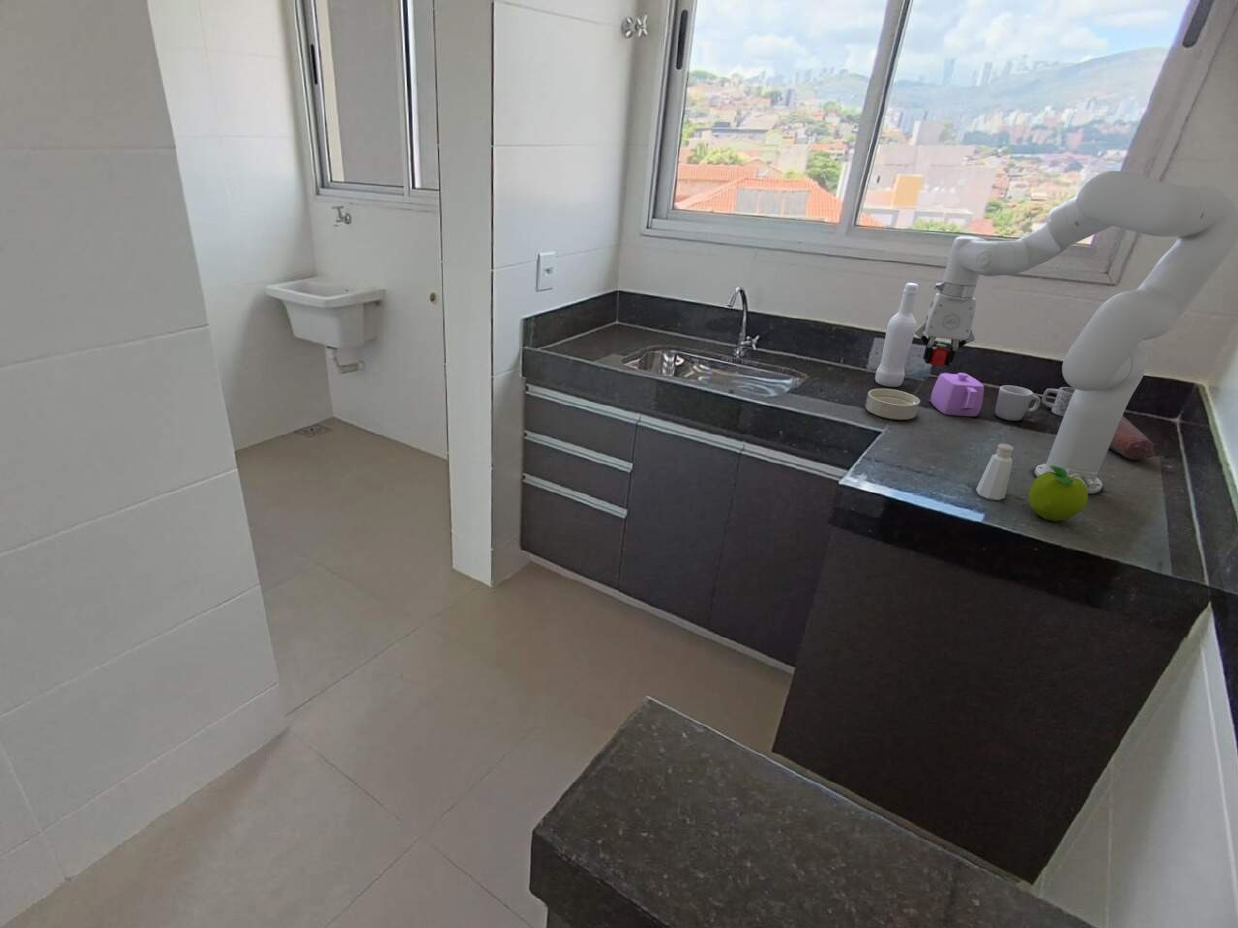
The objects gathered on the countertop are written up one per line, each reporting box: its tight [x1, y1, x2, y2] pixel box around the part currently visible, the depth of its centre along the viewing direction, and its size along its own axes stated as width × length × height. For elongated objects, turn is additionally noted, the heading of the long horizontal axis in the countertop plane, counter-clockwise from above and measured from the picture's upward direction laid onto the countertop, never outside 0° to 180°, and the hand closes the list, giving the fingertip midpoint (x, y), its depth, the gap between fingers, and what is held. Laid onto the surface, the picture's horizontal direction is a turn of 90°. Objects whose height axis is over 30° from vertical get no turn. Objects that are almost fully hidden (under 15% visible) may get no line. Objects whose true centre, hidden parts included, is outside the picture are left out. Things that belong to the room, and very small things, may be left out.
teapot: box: [930, 372, 985, 417], centre depth 181 cm, size 18×10×10 cm, turn 178°
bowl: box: [864, 388, 921, 421], centre depth 176 cm, size 13×13×4 cm
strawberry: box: [928, 343, 948, 367], centre depth 166 cm, size 4×4×5 cm
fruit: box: [1028, 466, 1089, 522], centre depth 126 cm, size 9×9×10 cm
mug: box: [1041, 386, 1075, 418], centre depth 184 cm, size 10×7×7 cm, turn 42°
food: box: [1109, 415, 1156, 461], centre depth 162 cm, size 21×9×9 cm, turn 1°
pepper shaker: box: [975, 443, 1015, 501], centre depth 134 cm, size 5×5×11 cm
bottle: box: [874, 282, 919, 388], centre depth 194 cm, size 8×8×30 cm
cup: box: [994, 384, 1041, 422], centre depth 177 cm, size 11×8×8 cm
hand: (936, 362), depth 167 cm, fingers closed on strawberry, 4 cm apart
